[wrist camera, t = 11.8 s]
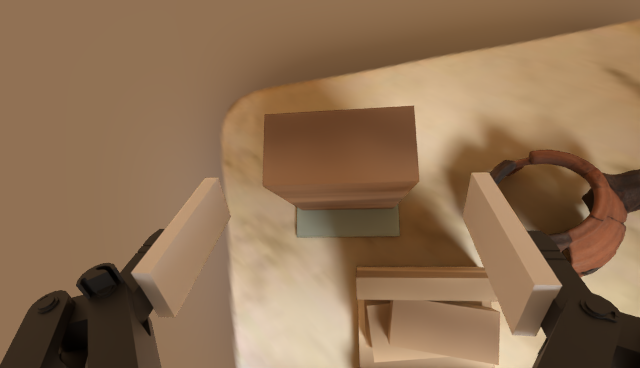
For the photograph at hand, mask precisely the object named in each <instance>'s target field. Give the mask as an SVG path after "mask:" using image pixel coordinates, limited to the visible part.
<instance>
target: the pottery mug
mask: <svg viewBox="0 0 640 368" xmlns="http://www.w3.org/2000/svg"><path fill="white" fill-rule="evenodd" d="M530 164H553V165H558V166H563V167H566V168H568V169H571V170H573V171H574V172H576V173H578V174H579V175H581V176H582V177H583V178H584V179H586V180H587V182H588V183H589V184H590V186H591V189H590V190H589V191H588V192H587V193H586V194H585V195H583V196H582V200H583V201H584V203H585V204H586V205H587V207H588V209H589V211H590V214H589V216H588V217H587V218H586V219H585V220H584V221H583V222H582V223H580V224H579V225H578V226H576V227H574V228H572V229H570V230H567V231H565V232H564V233H558V234H550V235H547V236H548V237H550V238H551V239H552V240H553V241H554V242H555V244H556V245H557V246H558V248H559V249H560V252H562V251H563V250H565V249H566V248H568V250H569V253H570V257H571V261H570V264H571V265H572V267H573V268H574V270H575V271H576V272H577V274H578V275H579V276H580V277H582V276H586V275H589V274H591V273H593V272H595V271H597V270H598V269H599V268H601V267H602V266H603V265H605V264H606V263H607V262H608V261H609V260H610V259H611V258H612V257H613V256H614V255H615V254H616V250H617V249H618V247H619V245H620V244H621V242H622V240H623V238H624V235H625V231H626V226H625V225H624V224H623V223H624V222H625V221H626V217H627V213H630V212H633V211H637V210H640V169H639V170H632V171H628V172H625V173H622V174H616V175H610V174H605V173H601V171H600V170H599V169H598V168H596V167H595V166H594V165H592V164H590V163H589V162H588V161H586V160H584V159H582V158H580V157H578V156H575V155H573V154H570V153H565V152H560V151H553V150H537V151H531V152H530V154H529V158H525V159H520V160H516V161H508V160H505V161H503V162H501V163H500V164H499V165H497V166H496V167H495V168H494V169H493V171H492V172H491V173H490V176H491V177H492V179H493V180H494V182H495V183H496V185H497V186H498V184H499V182H500V181H501V180H502V179H503V178H504V177H505V176H509V175H511V174H513V173H515V172H517V171H519V170H520V169H522V168H523V167H524V166H525V165H530Z"/></svg>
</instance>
